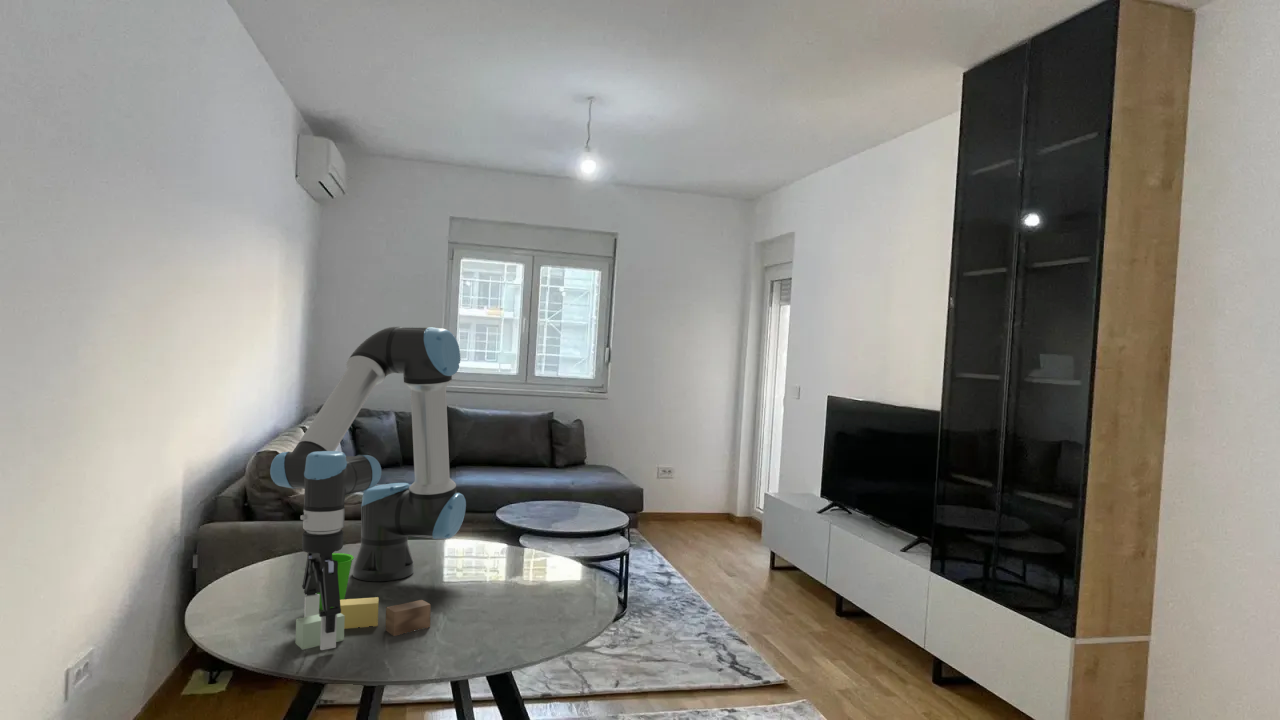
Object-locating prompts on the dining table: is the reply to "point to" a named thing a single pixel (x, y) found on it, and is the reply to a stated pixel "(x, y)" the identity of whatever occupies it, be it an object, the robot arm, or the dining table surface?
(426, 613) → the walnut brick
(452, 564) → the dining table surface
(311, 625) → the sage brick
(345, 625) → the mustard brick
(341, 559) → the cup
